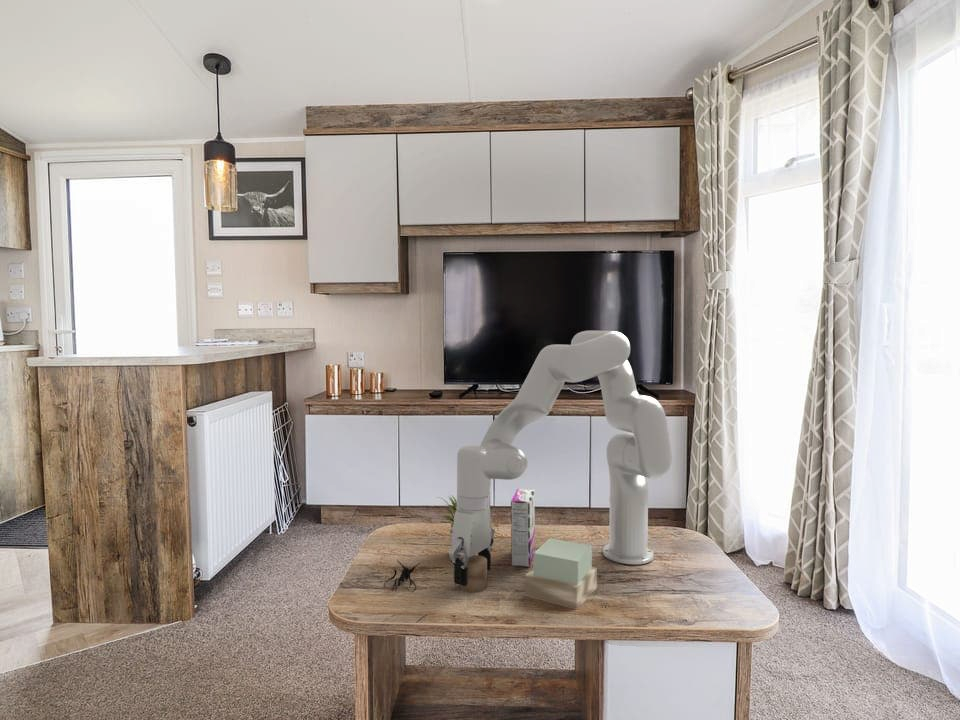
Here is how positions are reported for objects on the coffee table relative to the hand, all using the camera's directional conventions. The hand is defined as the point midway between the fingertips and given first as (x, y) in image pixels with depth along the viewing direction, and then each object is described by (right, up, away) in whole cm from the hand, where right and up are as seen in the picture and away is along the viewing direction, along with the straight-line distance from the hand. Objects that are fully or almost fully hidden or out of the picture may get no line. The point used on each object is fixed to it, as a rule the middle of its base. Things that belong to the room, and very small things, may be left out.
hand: (472, 576), depth 130 cm
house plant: (-4, -2, +18) cm, 19 cm away
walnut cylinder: (0, -2, 0) cm, 2 cm away
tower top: (+20, +2, -3) cm, 20 cm away
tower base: (+20, -3, -2) cm, 20 cm away
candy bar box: (+13, -2, +16) cm, 20 cm away
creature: (-16, -3, 0) cm, 16 cm away
